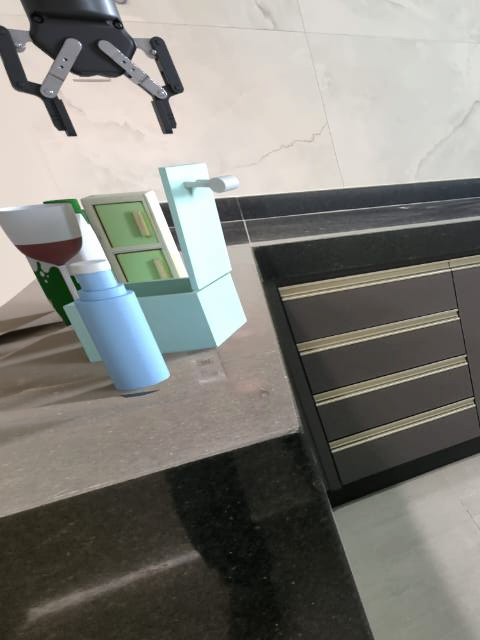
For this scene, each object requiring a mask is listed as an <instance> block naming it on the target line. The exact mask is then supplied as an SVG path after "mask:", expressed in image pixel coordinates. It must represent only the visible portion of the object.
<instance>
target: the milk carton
mask: <svg viewBox="0 0 480 640" xmlns="http://www.w3.org/2000/svg"><path fill="white" fill-rule="evenodd" d="M53 203H71V205H72V207H73V209H74V212H75V214H76V217H77V220H78V223H79V226H80V229H81V234H82V248H81V250H80V251H79V253H78V254H76V255H75V256H74V257H73V258H72V259H70V260H69V261H68V262H66V263H65V267H66V269H67V271H68V273H69V275H70V277H71V280H72V282H73V284H74V286H75V288H76V290H77V291H78V290H81V289H82V288H81V286H80V284H79V282H78V280H77V278H76V276H75V274H73V272H72V270H71V268H70V265H71V264H73V263H77V262H82V261H88V260H98V259H106V260H107V258H106V256H105V253H104V251H103V249H102V247H101V245H100V243H99V240H98V238H97V236H96V234H95V232H94V230H93V228H92V225H91V223H90V221H89V219H88V217H87V215H86V212H85V210H82V207H81V206H80V203H79V201H78V199H77V198H63V199H52V200H50V199H49V200H45V201H42V204H53ZM25 259H26V261H27V262H28V265H29V266H30V268H31V270H32V272H33V274H34V276H35V278H36V280H37V282H38V285H40V288H41V290H42V291H43V293H44V295H45V297H46V299H47V301H48V302H49V304H50V305H51V307H52V308H53V309H54V311H55V312H56V313H57V314H58V316H59V317H60V318H61V320H62V321H63V323H64V324H65V325H66V327H70V326H72V324H71V322H70V320H69V318H68V316H67V314H66V312H65V310H64V308H63V306H65V305H67V304H70V303H72V302H74V298H73V296H72V294H71V292H70V290H69V288H68V286H67V284H66V282H65V280H64V278H63V276H62V274H61V272H60V270H59V268H58V266H57V265H54V264H50V263H46V262H41V261H38V260H34V259H32V258H29V257H27V256H25ZM111 271H112V269H111ZM112 273H113V271H112ZM113 276H114V278H115V280H116V282H117V279H116V277H115V275H114V273H113ZM117 283H118V282H117Z"/></svg>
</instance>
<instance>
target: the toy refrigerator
mask: <svg viewBox="0 0 480 640" xmlns="http://www.w3.org/2000/svg"><path fill="white" fill-rule="evenodd" d="M79 200H80V203H81V206H82V208H83V211H84V213H85V215H86V218H87V220H88V222H89V224H90V226H91V228H92V229H93V231H94V233H95V235H96V237H97V239H98V241H99V243H100V245H101V247H102V249H103V251H104V254H105V256H106V258H107V260H108V262H109V264H110V266H111V269H112V272H113V274H114V276H115V278H116V281H117V283H127V282H138V281H148V280H159V279H170V278H181V277H189V276H188V273H187V269H186V266H185V263H184V261H183V259H182V257H181V254H180V252H179V249H178V248H177V245H176V243H175V240H174V237H173V235H172V232H171V230H170V228H169V225H168V222H167V220H166V218H165V216H164V212H163V210H162V208H161V205H160V202H159V200H158V198H157V195H156V193H155V191H154V190H139V191H129V192H127V191H125V192H115V193H103V194H100V193H99V194H91V195H87V196H85V197H82V198H80V199H79Z"/></svg>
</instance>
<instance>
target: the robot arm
mask: <svg viewBox="0 0 480 640" xmlns="http://www.w3.org/2000/svg"><path fill="white" fill-rule="evenodd" d="M19 2H20V4H21V6H22V8H23V11H24V13H25V15H26V17H27V20H28V22H29V30H23V29H14V28H7V27H6V26H4V25H1V24H0V59H1V60H0V61H1V63H2V65H3V68H4V70H5V73H6V75H7V77H8V80H9V83H10V86H11V87H12V89H13V90H14V91H16V92H18V93H22V94H27V95H30V96H34V97H37V98H38V99H40V100H41V102H42V103H43V105H44V108H45V109H46V111H47V114H48V116H49V119H50V120H51V123H52V125H53V127H54V128H55V129H56V130H57V131H58V132H64V133H65V135H66V137H68V138H74V137H78V134H77V132H76V129H75V127H74V125H73V121H72V120H71V117H70V115H69V113H68V110H67V109H66V105H65V103H64V101H63V99H61V98H59V96H58V94H59V92H60V90H61V88H62V86H63V85H64V82H65V81H66V79H67V77H68V75H69V74H72V75H73V76H78V77H79V78H91V77H96V76H98V77H103V78H109V79H110V78H112V79H117V78H119V77H121V76H124V77H125V78H126V79H128V81H130V82H131V83H132V84H134V85H136V86H137V87H139V88H140V89H141V90H142V91H144V92H145V93H146V94H148V95H149V96H150V97H151V98H152V100H151V101H150V104H151V106H152V108H153V112H154V114H155V117H156V119H157V120H156V121H157V122H158V125H159V127H160V130H161V132H162V134H163V135H173V134H174V131H173V130H174V129H177V124H178V123H177V121H176V118H175V115H174V113H173V109H172V107H171V104H170V99H171V97H174V96H177V95H179V94H183V93H184V92H185V89H184V88H185V87H184V85H183V83H182V80H181V78H180V76H179V73H178V70H177V68H176V65H175V64H174V60H173V58H172V56H171V53H170V52H169V49H168V46H167V43H166V41H165V40H164V39H163V38H162V37H160V36H158V35H156V36H155V35H154V36H152V37H140V38H139V37H133V36H131V35H130V33H129V32H128V31H127V29H126V28H125V26H124V23H123V20H122V17H121V15H120V12H119V9H118V7H117V4H116V2H115V0H19ZM27 43H32V44H33V45H34V46H35V47H36V48H38V49H39V50H41V51H42V52H43V53H44V54H45V55H46V56H48V57H49V58H51V59H52V64H51V66H50V67H49V69H48V71H47V72H46V75H45V76H44V77H45V78H44V79H43V80H42V82H41V83H37V82H34V81H30V80H29V79H28V77H27V75H26V72H25V69H24V67H23V64H22V62H21V59H20V58H21V57H20V56H19V54H22V53H24V52H25V51H26V48H27V47H26V45H27ZM137 49H139V50H141V51H142V52H143V53H144V54H145V56H146V57H147V58H148V59H151V60H154V62H155V64H156V67H157V70H158V71H159V74H160V76H161V78H162V81H163V83H164V85H162V86H161V85H159V84H158V83H157V82H156V81H154V80H153V79H152V78H151V77H150V76H149V75H148V74H147V72H145V71H144V70H142V69H141V68H140V67H139V66H138V65H136V64H135V63H134V62H133V61H132V60H133V58H134V56H135V54H136V52H137Z"/></svg>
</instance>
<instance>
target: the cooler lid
mask: <svg viewBox="0 0 480 640" xmlns="http://www.w3.org/2000/svg"><path fill="white" fill-rule="evenodd" d="M157 169H158V173H159V177H160V180H161V184H162V186H163V190H164V193H165V197H166V201H167V206H168V208H169V212H170V216H171V219H172V223H173V226H174V230H175V233H176V237H177V241H178V245H179V247H180V251H181V254H182V258H183V263H184V267H185V269H186V272H187V274H188V277H189V280H190V283H191V287H192V290H199V289H201V288H203V287H204V286H206V285H208V284H209V283H211V282H213V281H214V280H216V279H218V278H219V277H221V276H223V275H224V274H226V273H230V272H231V271H232V270H233V269H232V265H231V261H230V257H229V253H228V249H227V245H226V241H225V237H224V232H223V229H222V224H221V220H220V215H219V212H218V208H217V204H216V200H215V196H214V193H216V194H221V193H225V192H230V191H234V190H236V189H238V188H239V187H240V181H239V180H238V178H237V177H236V176H234V175H232V174H226V175H221V176H215V177H211V178H210V177H209V171H208V167H207V164H206V162H196V163H194V162H193V163H186V164H178V165H168V166H161V167H158V168H157Z"/></svg>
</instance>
